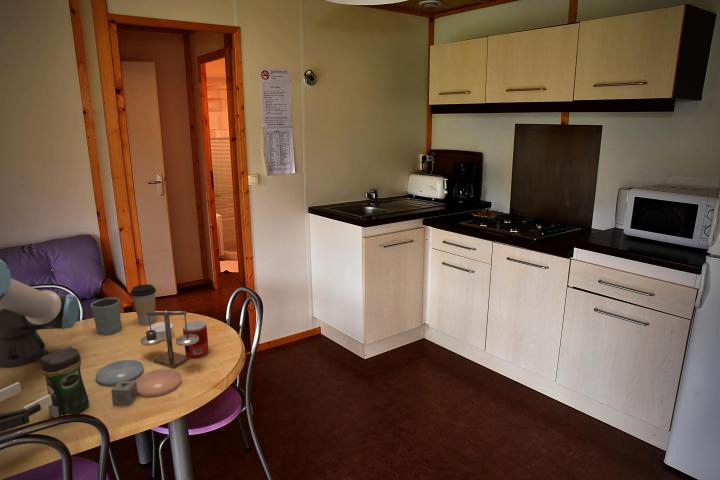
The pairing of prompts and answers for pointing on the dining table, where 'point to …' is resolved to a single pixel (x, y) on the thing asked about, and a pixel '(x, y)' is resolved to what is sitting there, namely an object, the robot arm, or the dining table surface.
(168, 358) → the balance
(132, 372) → the slate dish
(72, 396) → the coffee jar
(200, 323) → the canned food
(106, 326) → the grey-green ceramic planter
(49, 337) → the dining table surface
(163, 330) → the ramekin
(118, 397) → the dice cube
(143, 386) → the terracotta dish
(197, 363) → the dining table surface
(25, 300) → the robot arm
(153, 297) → the coffee cup
